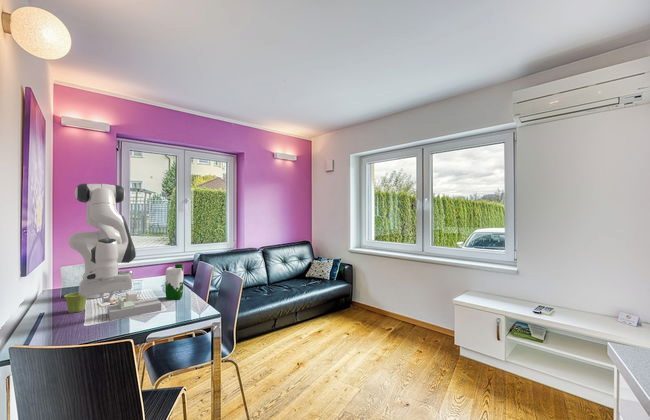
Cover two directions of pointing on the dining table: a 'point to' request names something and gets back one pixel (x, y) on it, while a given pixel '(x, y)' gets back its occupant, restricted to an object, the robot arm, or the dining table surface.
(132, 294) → the plug
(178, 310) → the dining table surface
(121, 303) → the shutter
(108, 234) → the robot arm
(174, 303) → the dining table surface
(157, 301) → the socket
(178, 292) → the milk carton
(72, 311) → the plant pot
